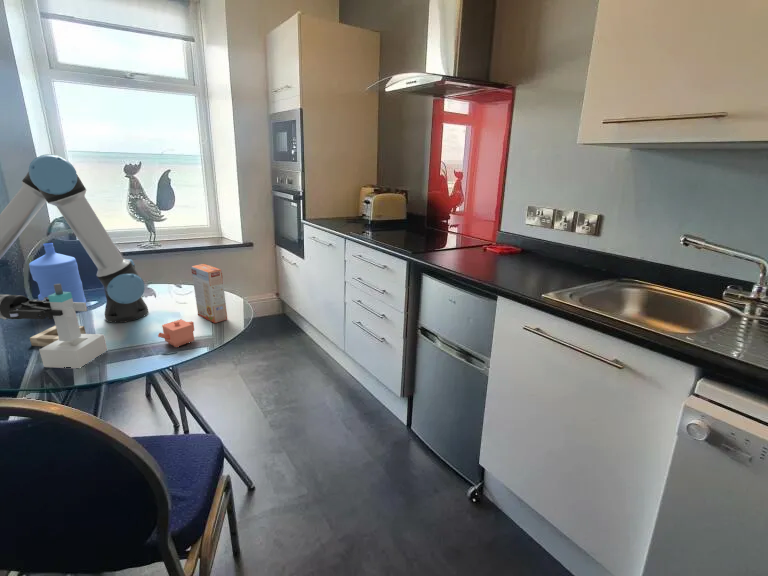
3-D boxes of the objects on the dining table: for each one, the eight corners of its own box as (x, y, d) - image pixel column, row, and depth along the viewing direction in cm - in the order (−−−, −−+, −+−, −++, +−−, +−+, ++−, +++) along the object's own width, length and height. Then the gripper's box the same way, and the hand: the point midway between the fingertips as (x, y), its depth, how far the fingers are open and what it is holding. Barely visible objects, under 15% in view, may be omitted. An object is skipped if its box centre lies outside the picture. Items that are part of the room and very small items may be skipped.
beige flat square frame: (58, 332, 155) (56, 325, 154) (85, 333, 154) (84, 326, 153) (31, 345, 145) (29, 337, 144) (61, 347, 144) (59, 339, 143)
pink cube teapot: (155, 346, 144) (151, 324, 141) (189, 335, 153) (186, 314, 150) (166, 353, 139) (162, 330, 137) (200, 341, 148) (197, 319, 146)
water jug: (95, 301, 186) (80, 239, 177) (69, 315, 171) (52, 248, 162) (60, 301, 186) (44, 239, 177) (31, 315, 171) (12, 248, 162)
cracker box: (228, 319, 167) (222, 269, 160) (214, 324, 162) (207, 272, 156) (211, 311, 175) (204, 262, 169) (197, 315, 171) (190, 265, 165)
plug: (69, 335, 135) (56, 282, 130) (81, 336, 135) (68, 282, 129) (59, 340, 132) (45, 286, 126) (71, 341, 131) (57, 286, 126)
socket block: (74, 349, 142) (70, 333, 140) (107, 350, 141) (103, 334, 139) (44, 367, 131) (39, 349, 129) (80, 368, 130) (75, 351, 128)
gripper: (36, 308, 141) (102, 311, 139) (-14, 328, 125) (60, 332, 123) (30, 287, 139) (97, 289, 137) (-21, 305, 122) (53, 308, 120)
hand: (79, 309), depth 130 cm, fingers closed on plug, 4 cm apart
